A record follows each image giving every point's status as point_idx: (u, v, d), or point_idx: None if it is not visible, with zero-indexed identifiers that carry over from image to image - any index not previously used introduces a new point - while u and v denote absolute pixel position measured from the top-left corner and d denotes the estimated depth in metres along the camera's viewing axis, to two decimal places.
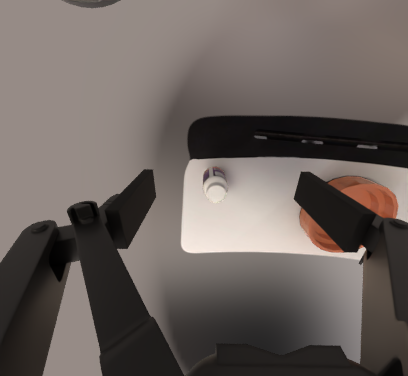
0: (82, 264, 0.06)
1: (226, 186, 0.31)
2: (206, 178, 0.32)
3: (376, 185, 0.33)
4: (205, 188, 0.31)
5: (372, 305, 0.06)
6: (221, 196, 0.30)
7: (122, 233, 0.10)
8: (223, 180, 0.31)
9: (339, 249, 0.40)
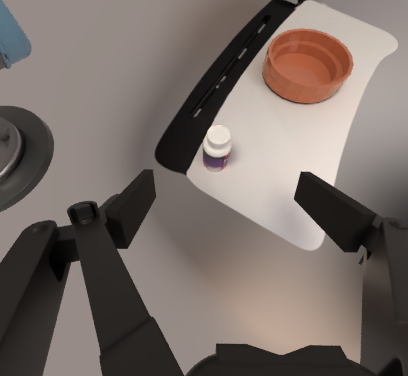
0: (82, 264, 0.06)
1: None
2: (203, 150, 0.28)
3: (274, 39, 0.38)
4: (211, 150, 0.26)
5: (372, 305, 0.06)
6: (223, 130, 0.25)
7: (122, 233, 0.10)
8: None
9: (348, 68, 0.35)
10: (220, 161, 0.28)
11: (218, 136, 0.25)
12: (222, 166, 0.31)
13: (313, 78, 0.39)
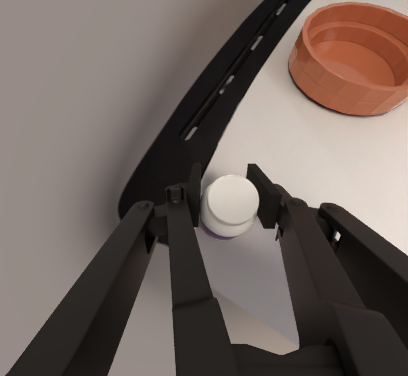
0: (169, 234, 0.08)
1: None
2: (201, 218, 0.14)
3: (309, 16, 0.24)
4: (216, 225, 0.13)
5: (295, 281, 0.07)
6: (243, 188, 0.12)
7: (196, 213, 0.12)
8: None
9: None
10: None
11: (233, 203, 0.11)
12: None
13: (368, 77, 0.26)
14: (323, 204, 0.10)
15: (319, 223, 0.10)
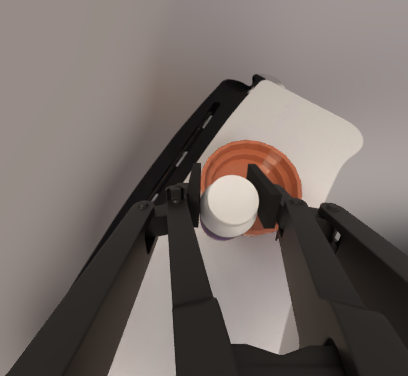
0: (169, 234, 0.08)
1: None
2: (201, 219, 0.14)
3: (210, 157, 0.32)
4: (216, 226, 0.13)
5: (296, 281, 0.07)
6: (243, 188, 0.12)
7: (196, 213, 0.12)
8: None
9: None
10: (234, 237, 0.15)
11: (232, 204, 0.11)
12: None
13: None
14: (323, 204, 0.10)
15: (319, 223, 0.10)
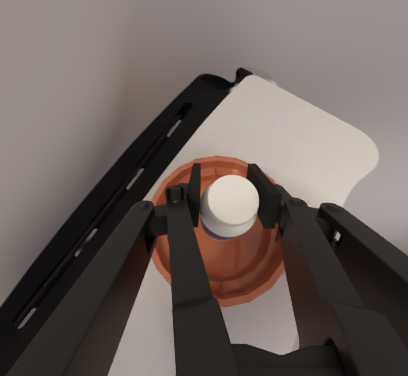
0: (169, 234, 0.08)
1: None
2: (201, 219, 0.14)
3: (165, 181, 0.22)
4: (216, 226, 0.13)
5: (295, 281, 0.07)
6: (243, 188, 0.12)
7: (196, 213, 0.12)
8: None
9: None
10: None
11: (233, 203, 0.11)
12: None
13: (237, 236, 0.24)
14: (323, 204, 0.10)
15: (319, 223, 0.10)
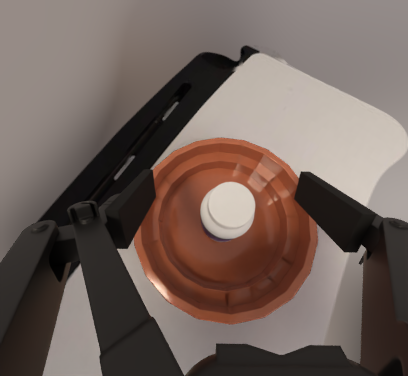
0: (82, 264, 0.06)
1: None
2: (202, 222, 0.15)
3: (157, 167, 0.18)
4: (216, 228, 0.14)
5: (372, 305, 0.06)
6: (241, 194, 0.13)
7: (122, 233, 0.10)
8: None
9: (306, 248, 0.16)
10: None
11: (231, 208, 0.12)
12: None
13: (245, 234, 0.20)
14: None
15: None
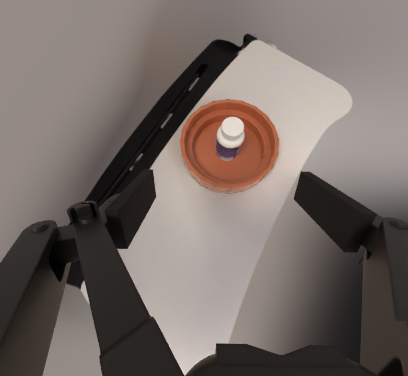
0: (82, 264, 0.06)
1: None
2: (217, 141, 0.29)
3: (191, 116, 0.32)
4: (225, 141, 0.28)
5: (372, 305, 0.06)
6: (237, 122, 0.27)
7: (122, 233, 0.10)
8: None
9: (272, 157, 0.30)
10: (233, 151, 0.30)
11: (232, 128, 0.26)
12: (234, 156, 0.32)
13: (240, 157, 0.34)
14: None
15: None
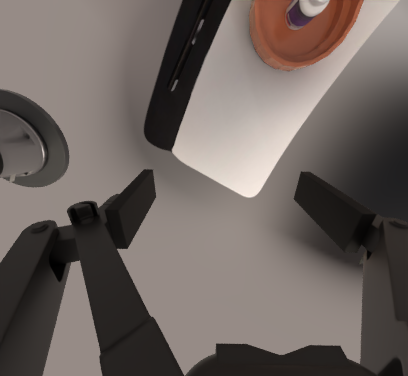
0: (82, 264, 0.06)
1: None
2: (297, 6, 0.27)
3: None
4: (308, 7, 0.26)
5: (372, 305, 0.06)
6: None
7: (122, 233, 0.10)
8: None
9: (346, 27, 0.30)
10: (310, 19, 0.29)
11: None
12: None
13: (310, 24, 0.32)
14: None
15: None
